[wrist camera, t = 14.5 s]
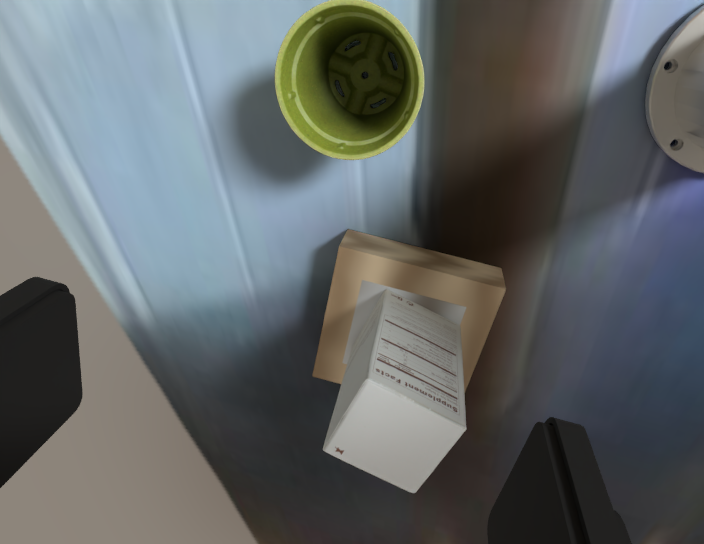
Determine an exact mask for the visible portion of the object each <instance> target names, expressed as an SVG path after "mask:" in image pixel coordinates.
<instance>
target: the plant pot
mask: <svg viewBox="0 0 704 544" xmlns="http://www.w3.org/2000/svg"><path fill="white" fill-rule="evenodd" d="M356 40H358V41H360V42H361V43H360V44H359V45H356V46H354V47H352V48H350V49H349V50H347V51H345V47H346V46H347V45H348V44H350V43H352V42H353V41H356ZM388 52H391V53H392V54H394V56H395V59H396V62H397V65H398V68H397V70H394V68H393V64H392V61H391V59H390V57H389V56H388ZM363 72H367V73H368V78H366V79H364V78H363V77H362V73H363ZM336 80H338V81H339V84H340V87H341V89H342V91H343V94H344V95H345V96H344V97H343V96H341V95H340V93H339V92H338V91H337V89H336V86H335V81H336ZM275 89H276V95H277V99H278V102H279V106H280V109H281V111H282V114H283V116H284V118H285V119H286V121H287V122H288V124H289V126H290V127H291V129H292V130H293V131H294V133H295V134H296V135H297V136H298V137H299V138H300V139H301V140H302V141H303V142H305V143H306V144H307V145H308V146H310V147H311V148H313V149H314V150H316V151H318V152H320V153H322V154H324V155H327V156H329V157H333V158H337V159H344V160H359V159H365V158H369V157H373V156H375V155H378V154H380V153H382V152H384V151H386V150H388V149H389V148H391V147H392V146H393V145H395V144H396V143H397V142H398V141H399V140H400V139H401V138H402V137H403V136H404V135H405V134H406V133H407V132H408V130H409V129H410V127H411V126H412V124H413V122H414V120H415V118H416V116H417V114H418V112H419V109H420V107H421V103H422V99H423V93H424V71H423V65H422V60H421V57H420V54H419V51H418V48H417V46H416V44H415V42H414V40H413V38H412V37H411V35H410V34H409V32H408V31H407V29H406V28H405V27H404V26H403V24H402V23H401V22H400V21H399V20H398V19H397V18H396V17H395V16H393V15H392V14H391V13H390V12H388V11H387V10H385V9H384V8H382V7H380V6H378V5H376V4H374V3H371V2H368V1H365V0H330V1H327V2H324V3H322V4H319V5H317V6H315V7H313V8H312V9H310V10H309V11H307V12H306V13H305V14H303V15H302V16H301V17H300V18H299V19H298V20H297V21H296V22H295V23H294V24H293V26H292V27H291V28H290V30H289V31H288V33H287V35H286V36H285V38H284V40H283V42H282V45H281V47H280V50H279V53H278V57H277V61H276V67H275ZM383 98H385V99H386V102H385V103H383V104H381V105H379V107H377V108H371V107H370V105H371V104H374V103H376V102H379V101H381V100H382V99H383Z"/></svg>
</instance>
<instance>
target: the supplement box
mask: <svg viewBox="0 0 704 544" xmlns="http://www.w3.org/2000/svg"><path fill="white" fill-rule="evenodd" d="M466 429H467V428H466V411H465V395H464V376H463V358H462V341H461V327H460V325H458V324H456V323H455V322H453V321H451V320H449V319H447V318H445V317H443V316H441V315H439V314H437V313H435V312H433V311H431V310H429V309H427V308H425V307H423V306H421V305H419V304H416V303H414V302H413V301H411V300H408V299H406V298H404V297H402V296H400V295H398V294H396V293H394V292H392V291H390V290H387V289H386V290H385V291H384V292H383V294H382V296H381V297H380V299H379V301H378V302H377V304H376V306H375V307H374V309H373V311H372V313H371V314H370V316H369V318H368V320H367V322H366V323H365V325H364V327H363V329H362V330H361V332H360V334H359V336H358V338H357V339H356V341H355V343H354V345H353V346H352V349H351V353H350V356H349V360H348V363H347V367H346V370H345V374H344V377H343V380H342V384H341V387H340V391H339V394H338V398H337V401H336V405H335V408H334V411H333V415H332V418H331V422H330V425H329V429H328V432H327V435H326V439H325V443H324V446H323V451H325V452H327V453H329V454H331V455H332V456H334V457H336V458H338V459H340V460H342V461H345V462H347V463H349V464H351V465H353V466H355V467H357V468H359V469H362V470H364V471H366V472H368V473H370V474H372V475H374V476H377V477H379V478H381V479H383V480H385V481H387V482H389V483H392V484H394V485H396V486H398V487H400V488H402V489H404V490H406V491H409V492H412V493H416V491H417V490H418V489H419V488H420V486H421V485H422V484H423V483H424V481H425V480H426V479H427V478H428V477H429V475H430V474H431V473H432V472H433V470H434V469H435V468H436V467H437V465H438V464H439V463H440V462H441V460H442V459H443V458H444V457H445V455H446V454H447V453H448V452H449V450H450V449H451V448H452V447H453V445H454V444H455V443H456V442H457V440H458V439H459V438H460V437H461V435H462V434H463V433H464V432H465V431H466Z"/></svg>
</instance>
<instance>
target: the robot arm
mask: <svg viewBox="0 0 704 544" xmlns="http://www.w3.org/2000/svg"><path fill="white" fill-rule="evenodd" d="M666 62H669V64H670V65H669V67H668V68H667V69H664V65H665V63H666ZM645 109H646V120H647V123H648V126H649V129H650V132H651V135H652V136H653V138H654V139H655V141H656V143H657V144H658V146H659V147H660V148H661V149H662V150H663V151H664V152H665V153H666V154H667V155H668V156H669V157H670V158H671V159H673V160H674V161H676V162H678V163H679V164H681V165H683V166H685V167H687V168H689V169H691V170H693V171H696V172H700V173H704V5H703V6H702V7H700V8H699V9H698V10H696V11H695V12H694V13H693V14H691V15H690V16H689V17H688V18H687V19H686V20H685V21H684V22H683V23H682V24H681V25H680V26H679V27H678V28H677V29H676V30H675V31H674V33H673V34H672V35H671V37H670V38H669V40H668V41H667V42H666V44H665V45H664V47H663V48H662V49H661V51H660V53H659V55H658V57H657V59H656V61H655V63H654V65H653V67H652V70H651V74H650V77H649V80H648V84H647V89H646V98H645ZM674 139H675V143H674V144H673V145H671V146H670V143H671V142H672V141H673V140H674ZM81 399H82V382H81V369H80V357H79V343H78V330H77V318H76V304H75V298H74V296H73V295H72V294H70V292H69V289H68V288H67V286H66V285H64V284H62V283H58V282H54V281H51V280H47V279H43V278H40V277H33V278H30V279H28V280H26V281H24V282H23V283H21V284H19V285H18V286H16V287H14V288H13V289H11V290H9V291H7V292H6V293H4V294H2V295H1V296H0V488H1V487H2V486H3V485H4V484H5V483H6V482H7V481H8V480H9V479H10V478H11V477H12V476H13V475H14V474H15V473H16V471H18V470H19V469H20V468H21V467H22V466H23V464H24V463H25V462H26V461H27V460H28V459H29V458H30V457H31V456H32V455H33V454H34V453H35V452H36V451H37V450H38V449H39V448H40V447H41V446H42V445H43V444H44V443H45V442H46V441H47V440H48V439H49V438H50V437H51V436H52V435H53V434H54V433H55V432H56V431H57V430H58V429H59V428H60V427H61V426H62V425H63V424H64V423H65V421H67V420H68V418H69V417H71V415H72V414H73V413H74V412H75V411H76V410H77V408H78V407H79V405H80V402H81ZM488 544H632V543H631V541H630V538H629V535H628V532H627V529H626V527H625V524H624V522H623V520H622V518H621V516H620V515H619V514H618V513H617V512H616V511H615V510H613V507H612V504H611V502H610V499H609V496H608V493H607V490H606V487H605V484H604V482H603V479H602V476H601V473H600V470H599V467H598V464H597V461H596V459H595V456H594V453H593V450H592V447H591V444H590V441H589V439H588V436H587V433H586V430H585V429H584V427H583V426H581V425H579V424H575V423H571V422H568V421H564V420H560V419H557V418H553V417H550V418H549V419H547V420H546V422H545V423H542V422H537V423H536V424H535V426H534V428H533V429H532V431H531V433H530V435H529V437H528V439H527V441H526V443H525V445H524V447H523V449H522V451H521V453H520V455H519V457H518V459H517V461H516V463H515V465H514V467H513V469H512V471H511V473H510V475H509V477H508V479H507V481H506V483H505V485H504V487H503V489H502V490H501V492H500V494H499V496H498V498H497V500H496V502H495V504H494V506H493V508H492V510H491V513H490V516H489V520H488Z"/></svg>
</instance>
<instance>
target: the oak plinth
mask: <svg viewBox="0 0 704 544" xmlns="http://www.w3.org/2000/svg"><path fill="white" fill-rule="evenodd" d="M386 289H387V290H390V291H392V292H394V293H396V294H398V295H400V296H402V297H404V298H406V299H408V300H411V301H413V302H414V303H416V304H419V305H421V306H423V307H425V308H427V309H429V310H431V311H433V312H435V313H437V314H439V315H441V316H443V317H445V318H447V319H449V320H451V321H453V322H455V323H456V324H458V325H460V327H461V341H462V358H463V376H464V393H465V391H466V388H467V386H468V383H469V381H470V378H471V376H472V373H473V371H474V368H475V366H476V363H477V361H478V358H479V356H480V353H481V351H482V348H483V346H484V343H485V341H486V338H487V336H488V333H489V331H490V328H491V326H492V323H493V321H494V318H495V316H496V313H497V311H498V308H499V306H500V303H501V301H502V298H503V296H504V293H505V291H506V286H505V282H504V277H503V273H502V269H501V268H499V267H495V266H491V265H487V264H483V263H479V262H475V261H472V260H468V259H464V258H460V257H456V256H452V255H448V254H444V253H440V252H436V251H432V250H428V249H424V248H421V247H417V246H413V245H409V244H405V243H401V242H397V241H393V240H389V239H385V238H381V237H377V236H373V235H369V234H366V233H362V232H358V231H354V230H350V229H347V231H346V233H345V235H344V237H343V239H342V241H341V243H340V245H339V249H338V254H337V259H336V264H335V269H334V273H333V278H332V283H331V288H330V293H329V298H328V303H327V307H326V312H325V317H324V322H323V327H322V332H321V337H320V342H319V346H318V351H317V356H316V361H315V366H314V371H313V377H317V378H320V379H324V380H328V381H331V382H335V383H338V384H342V380H343V377H344V374H345V370H346V367H347V363H348V360H349V356H350V353H351V349H352V346H353V345H354V343H355V341H356V339H357V338H358V336H359V334H360V332H361V330H362V329H363V327H364V325H365V323H366V322H367V320H368V318H369V316H370V314H371V313H372V311H373V309H374V307H375V306H376V304H377V302H378V301H379V299H380V297H381V296H382V294H383V292H384V291H385V290H386Z"/></svg>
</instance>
